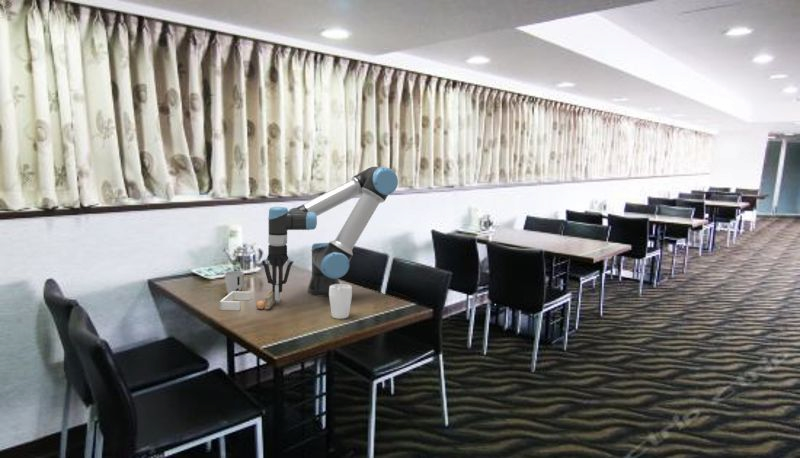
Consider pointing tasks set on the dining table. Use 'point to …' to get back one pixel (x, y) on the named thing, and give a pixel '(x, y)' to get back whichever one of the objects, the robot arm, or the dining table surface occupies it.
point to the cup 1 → (234, 281)
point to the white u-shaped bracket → (228, 301)
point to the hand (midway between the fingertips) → (277, 299)
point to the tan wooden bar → (269, 300)
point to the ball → (261, 304)
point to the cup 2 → (340, 300)
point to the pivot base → (278, 301)
